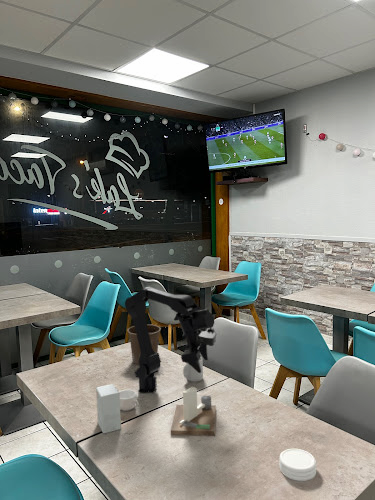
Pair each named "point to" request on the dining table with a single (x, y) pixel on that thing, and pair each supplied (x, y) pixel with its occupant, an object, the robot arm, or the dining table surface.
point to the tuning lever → (193, 404)
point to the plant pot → (135, 347)
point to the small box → (108, 408)
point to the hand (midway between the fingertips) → (203, 366)
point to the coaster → (297, 464)
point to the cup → (193, 372)
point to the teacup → (128, 399)
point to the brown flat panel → (194, 422)
